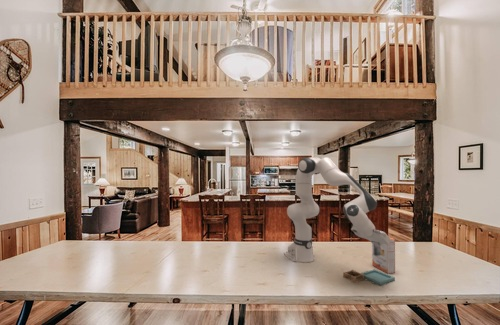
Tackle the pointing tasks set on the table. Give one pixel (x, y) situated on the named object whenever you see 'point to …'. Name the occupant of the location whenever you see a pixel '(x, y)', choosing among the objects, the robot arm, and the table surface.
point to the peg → (376, 248)
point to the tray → (378, 277)
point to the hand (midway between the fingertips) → (377, 243)
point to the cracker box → (385, 257)
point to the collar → (351, 275)
